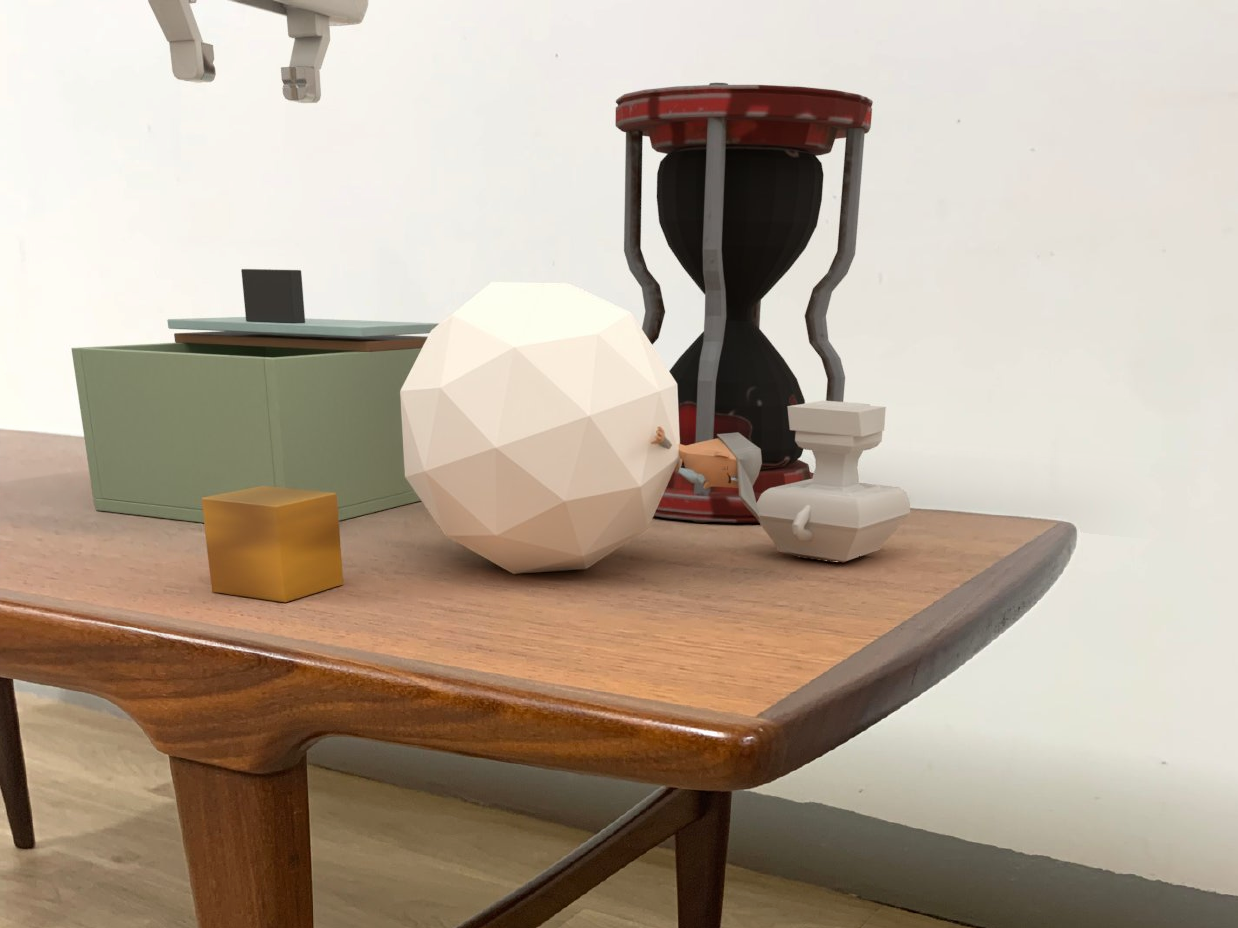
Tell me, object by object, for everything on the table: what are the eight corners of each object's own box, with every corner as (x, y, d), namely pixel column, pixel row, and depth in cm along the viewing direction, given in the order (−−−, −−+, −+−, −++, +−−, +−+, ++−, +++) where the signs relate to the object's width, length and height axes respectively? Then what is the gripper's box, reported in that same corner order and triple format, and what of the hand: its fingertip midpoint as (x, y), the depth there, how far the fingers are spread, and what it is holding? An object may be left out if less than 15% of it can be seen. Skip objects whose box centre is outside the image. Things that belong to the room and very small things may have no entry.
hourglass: (580, 515, 86) (581, 84, 76) (646, 482, 100) (654, 115, 90) (821, 532, 82) (856, 78, 72) (854, 494, 96) (887, 112, 86)
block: (211, 592, 64) (200, 497, 62) (272, 574, 68) (264, 485, 66) (285, 602, 62) (276, 505, 60) (343, 584, 66) (337, 492, 64)
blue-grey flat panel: (167, 328, 87) (160, 267, 86) (256, 325, 95) (251, 268, 93) (362, 337, 81) (358, 271, 80) (440, 332, 89) (438, 272, 87)
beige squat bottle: (846, 577, 70) (859, 414, 66) (740, 561, 73) (748, 405, 70) (914, 551, 76) (930, 402, 73) (815, 538, 80) (825, 394, 76)
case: (94, 510, 85) (69, 337, 80) (274, 476, 100) (261, 329, 95) (289, 533, 78) (273, 347, 74) (450, 493, 93) (444, 337, 89)
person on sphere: (328, 528, 63) (726, 607, 60) (383, 207, 61) (798, 273, 58) (423, 562, 77) (749, 628, 74) (470, 303, 75) (807, 360, 72)
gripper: (300, -143, 79) (317, 113, 85) (33, -262, 62) (76, 69, 68) (386, -154, 77) (398, 110, 82) (133, -281, 60) (170, 64, 65)
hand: (251, 92), depth 75 cm, fingers open, 8 cm apart
